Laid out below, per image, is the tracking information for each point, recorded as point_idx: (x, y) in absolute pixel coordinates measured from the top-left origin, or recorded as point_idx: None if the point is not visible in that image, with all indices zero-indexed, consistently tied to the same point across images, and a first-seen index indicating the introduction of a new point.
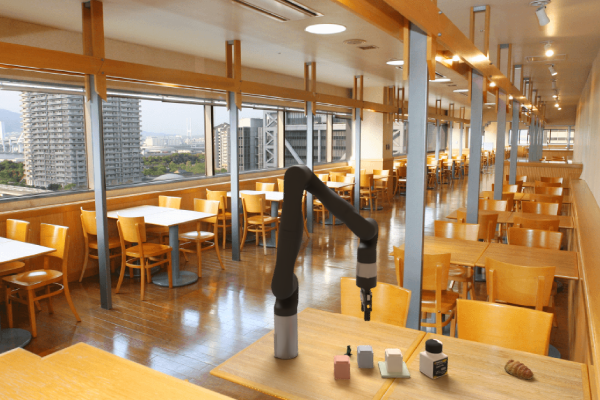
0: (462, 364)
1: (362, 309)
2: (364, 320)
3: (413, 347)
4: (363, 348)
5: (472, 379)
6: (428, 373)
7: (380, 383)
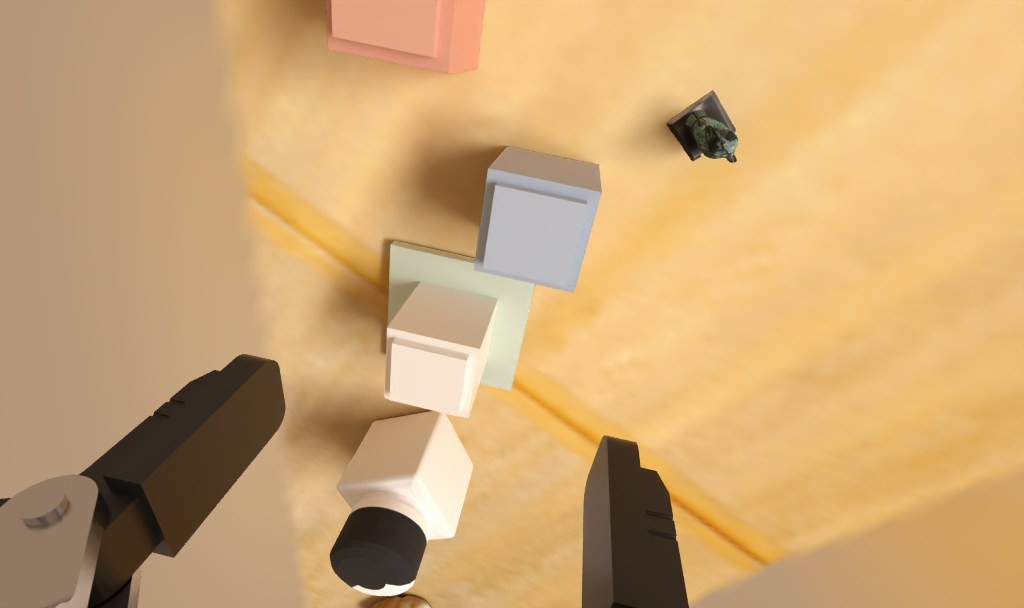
0: (471, 538)
1: (602, 470)
2: (245, 355)
3: None
4: (527, 224)
5: None
6: (388, 426)
7: (341, 214)
